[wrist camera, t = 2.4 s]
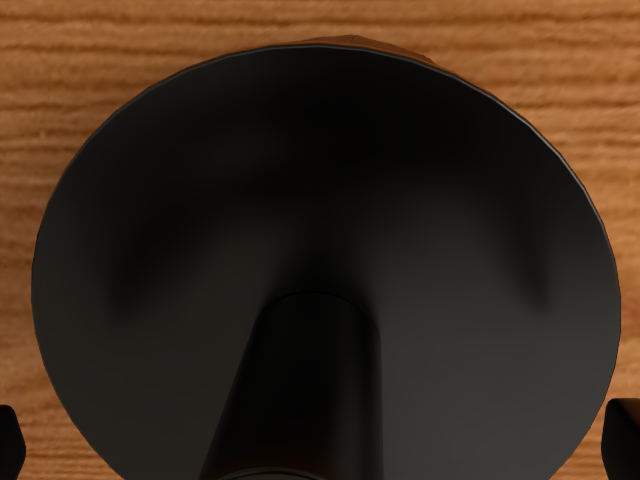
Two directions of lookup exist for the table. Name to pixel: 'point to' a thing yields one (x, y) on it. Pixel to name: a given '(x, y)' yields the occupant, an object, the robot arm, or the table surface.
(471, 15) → the table surface
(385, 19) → the table surface
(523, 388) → the lid
